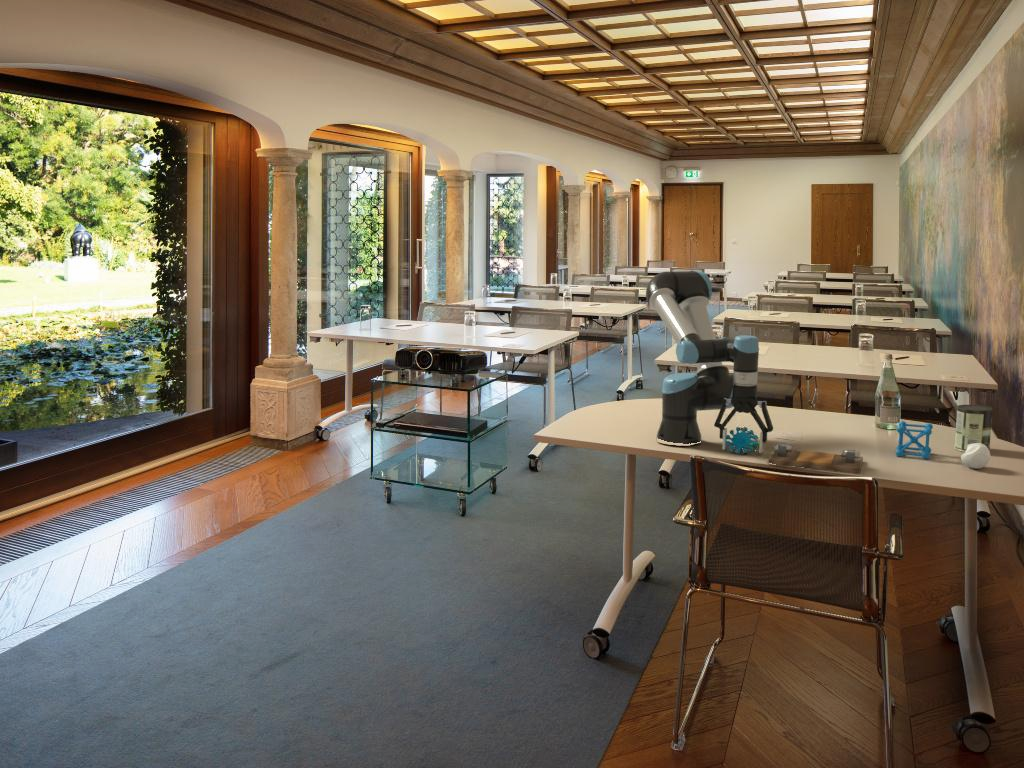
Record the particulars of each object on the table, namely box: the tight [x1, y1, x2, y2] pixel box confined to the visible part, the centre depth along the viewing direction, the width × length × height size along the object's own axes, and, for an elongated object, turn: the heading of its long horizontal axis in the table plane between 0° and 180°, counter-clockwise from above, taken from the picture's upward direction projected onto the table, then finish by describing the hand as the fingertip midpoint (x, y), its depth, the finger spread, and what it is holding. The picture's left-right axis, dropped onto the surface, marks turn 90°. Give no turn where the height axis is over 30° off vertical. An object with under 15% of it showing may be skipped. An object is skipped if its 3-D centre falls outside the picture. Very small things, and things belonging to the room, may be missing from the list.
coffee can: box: [954, 404, 994, 453], centre depth 278 cm, size 10×10×14 cm
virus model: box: [726, 426, 760, 454], centre depth 281 cm, size 11×6×10 cm
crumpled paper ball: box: [960, 443, 991, 470], centre depth 257 cm, size 8×8×8 cm
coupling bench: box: [768, 449, 864, 474], centre depth 266 cm, size 26×15×2 cm, turn 64°
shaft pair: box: [773, 443, 861, 464], centre depth 265 cm, size 25×4×3 cm, turn 64°
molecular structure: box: [894, 420, 934, 460], centre depth 273 cm, size 10×10×10 cm
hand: (742, 450), depth 279 cm, fingers closed on virus model, 11 cm apart
